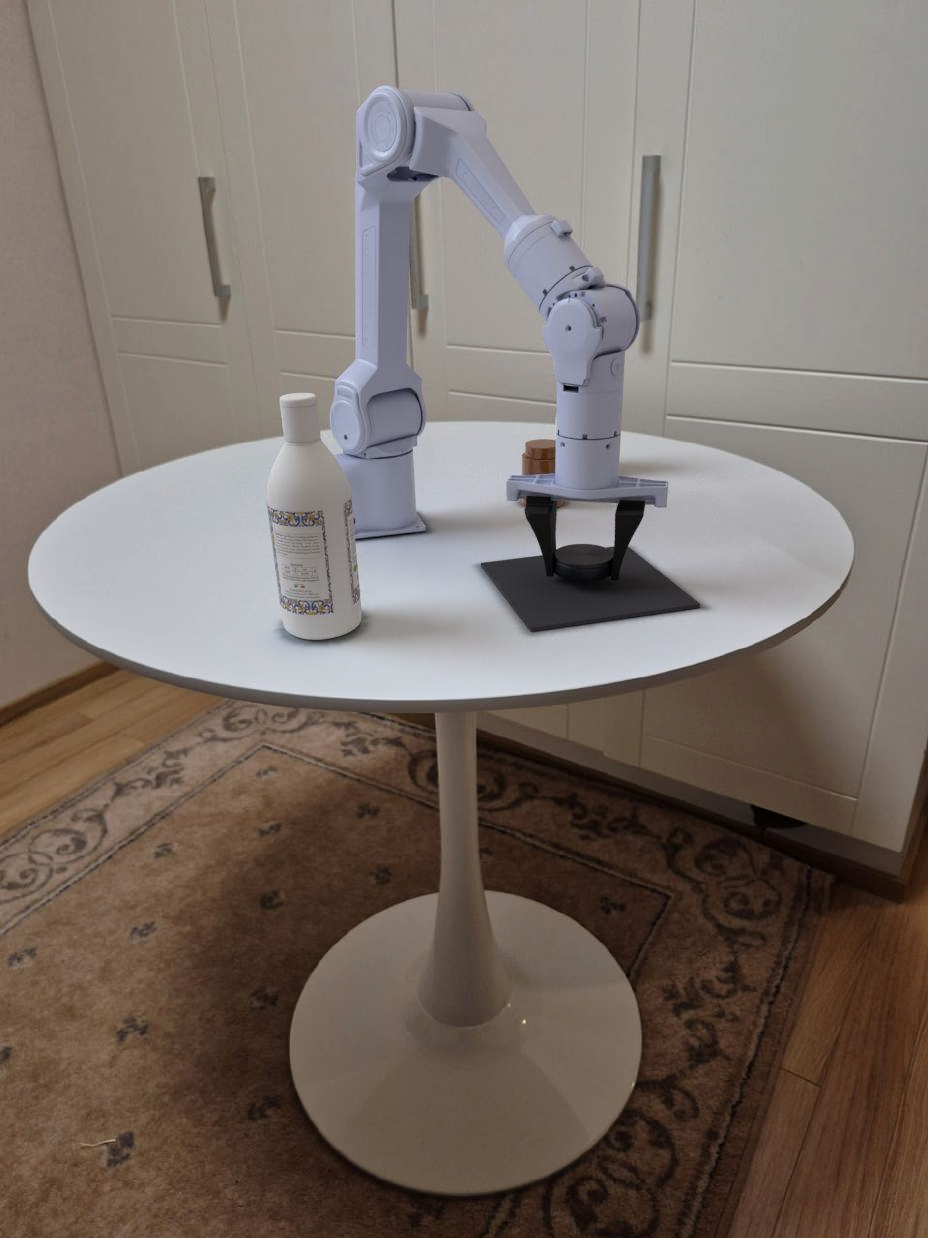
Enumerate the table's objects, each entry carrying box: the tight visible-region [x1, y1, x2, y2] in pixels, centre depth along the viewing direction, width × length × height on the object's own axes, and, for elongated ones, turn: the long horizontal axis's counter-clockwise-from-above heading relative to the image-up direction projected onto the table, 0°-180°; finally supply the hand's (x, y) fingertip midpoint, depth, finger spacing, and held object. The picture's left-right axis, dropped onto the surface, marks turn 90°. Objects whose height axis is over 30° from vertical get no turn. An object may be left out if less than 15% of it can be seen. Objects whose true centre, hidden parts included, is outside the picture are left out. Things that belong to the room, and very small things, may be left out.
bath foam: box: [266, 392, 363, 641], centre depth 72 cm, size 7×7×20 cm
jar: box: [521, 438, 565, 508], centre depth 105 cm, size 5×5×7 cm
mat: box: [480, 545, 701, 632], centre depth 82 cm, size 16×16×1 cm
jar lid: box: [554, 543, 614, 582], centre depth 81 cm, size 6×6×2 cm
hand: (583, 574), depth 82 cm, fingers closed on jar lid, 5 cm apart
